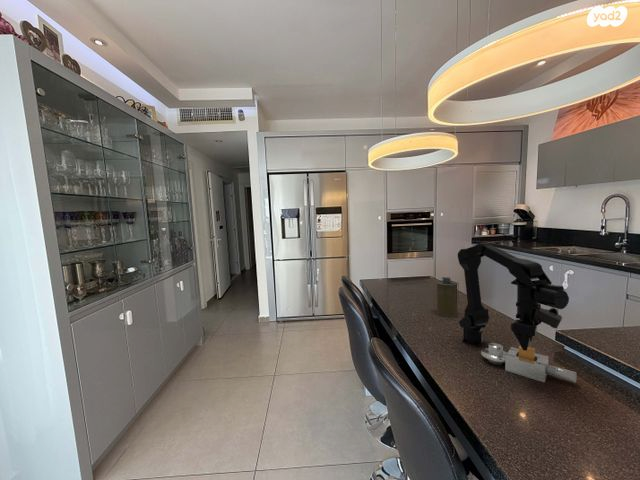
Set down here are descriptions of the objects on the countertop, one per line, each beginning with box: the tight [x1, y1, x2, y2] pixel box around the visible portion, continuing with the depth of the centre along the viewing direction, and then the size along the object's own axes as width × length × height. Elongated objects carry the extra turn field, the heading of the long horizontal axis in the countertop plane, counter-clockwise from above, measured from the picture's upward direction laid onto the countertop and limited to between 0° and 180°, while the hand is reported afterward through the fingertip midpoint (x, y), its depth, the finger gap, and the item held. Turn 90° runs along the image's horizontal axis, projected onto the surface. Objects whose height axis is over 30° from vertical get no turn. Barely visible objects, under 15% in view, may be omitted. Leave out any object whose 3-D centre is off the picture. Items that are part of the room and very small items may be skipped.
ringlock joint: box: [480, 342, 577, 384], centre depth 91 cm, size 26×9×6 cm, turn 45°
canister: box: [436, 276, 460, 318], centre depth 146 cm, size 11×10×20 cm
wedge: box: [518, 344, 536, 361], centre depth 91 cm, size 4×2×8 cm, turn 45°
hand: (527, 345), depth 90 cm, fingers open, 9 cm apart
